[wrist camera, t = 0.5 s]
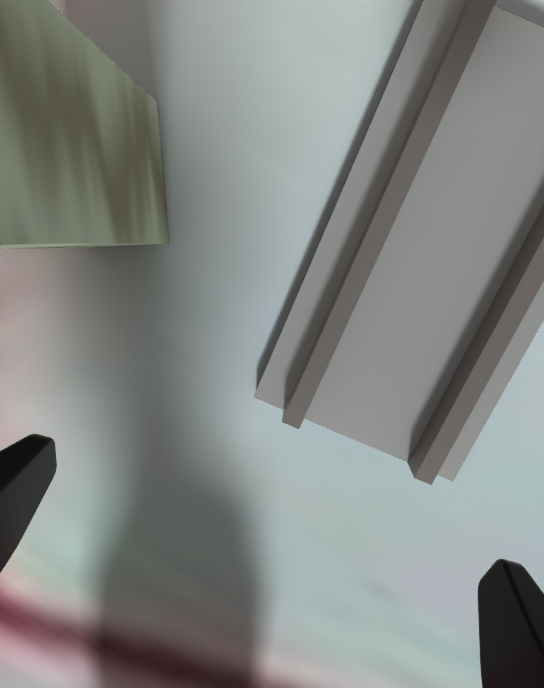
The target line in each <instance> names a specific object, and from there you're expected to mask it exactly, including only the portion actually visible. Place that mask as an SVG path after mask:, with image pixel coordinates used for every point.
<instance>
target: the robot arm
mask: <svg viewBox="0 0 544 688" xmlns="http://www.w3.org/2000/svg"><path fill="white" fill-rule="evenodd" d="M56 467H57V463H56V451H55V442H54V440H53V439H52V438H50V437H46V436H42V435H39V434H31V435H29V436H27V437H25V438H23V439H21V440H20V441H18V442H16V443H14V444H12V445H10V446H9V447H7V448H5V449H3V450H1V451H0V573H1V571H2V570H3V568H4V566H5V565H6V563H7V562H8V560H9V559H10V557H11V556H12V554H13V552H14V551H15V549H16V548H17V546H18V544H19V542H20V540H21V539H22V537H23V535H24V533H25V531H26V529H27V527H28V525H29V523H30V521H31V520H32V518H33V516H34V514H35V512H36V510H37V508H38V506H39V504H40V502H41V500H42V498H43V496H44V495H45V493H46V491H47V489H48V487H49V485H50V483H51V481H52V479H53V477H54V475H55V472H56ZM478 614H479V641H480V665H481V678H482V686H483V688H544V593H543V592H542V591H541V589H540V588H539V587H538V585H537V584H536V582H535V581H534V580H533V578H532V577H531V576H530V574H529V573H528V572H527V570H526V569H525V568H524V567H523V566H522V565H521V564H519V563H516V562H512V561H509V560H505V559H499V560H497V561H496V562H495V563H494V564H493V565H492V566H491V568H490V569H489V570H488V571H487V572H486V574H485V575H484V576H483V577H482V578H481V580H480V582H479V585H478Z"/></svg>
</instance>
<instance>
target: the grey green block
mask: <svg viewBox="0 0 544 688" xmlns="http://www.w3.org/2000/svg"><path fill="white" fill-rule="evenodd" d="M149 244H169V236H168V224H167V212H166V201H165V189H164V177H163V166H162V154H161V142H160V130H159V119H158V107H157V101H156V100H155V99H154V98H153V97H152V96H151V95H149V94H148V93H147V92H146V91H145V90H144V89H143V88H142V87H141V86H140V85H139V84H138V83H136V82H135V81H134V80H133V79H132V78H131V77H130V76H129V75H128V74H127V73H126V72H125V71H123V70H122V69H121V68H120V67H119V66H118V65H117V64H116V63H115V62H114V61H113V60H112V59H110V58H109V57H108V56H107V55H106V54H105V53H104V52H103V51H102V50H101V49H100V48H99V47H97V46H96V45H95V44H94V43H93V42H92V41H91V40H90V39H89V38H88V37H87V36H86V35H85V34H83V33H82V32H81V31H80V30H79V29H78V28H77V27H76V26H75V25H74V24H73V23H72V22H70V21H69V20H68V19H67V18H66V17H65V16H64V15H63V14H62V13H61V12H60V11H59V10H57V9H56V8H55V7H54V6H53V5H52V4H51V3H50V2H49V1H48V0H0V249H19V248H77V247H105V246H127V245H149Z"/></svg>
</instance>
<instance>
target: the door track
mask: <svg viewBox="0 0 544 688" xmlns="http://www.w3.org/2000/svg"><path fill="white" fill-rule="evenodd" d="M495 3H496V0H423V2H422V4H421V7H420V9H419V11H418V14H417V16H416V18H415V21H414V23H413V25H412V28H411V30H410V32H409V35H408V37H407V39H406V42H405V44H404V46H403V49H402V51H401V53H400V56H399V58H398V60H397V63H396V65H395V68H394V70H393V72H392V75H391V77H390V79H389V82H388V84H387V86H386V89H385V91H384V93H383V96H382V98H381V100H380V103H379V105H378V107H377V110H376V112H375V114H374V117H373V119H372V121H371V124H370V126H369V128H368V131H367V133H366V135H365V138H364V140H363V142H362V145H361V147H360V149H359V152H358V154H357V156H356V159H355V161H354V163H353V166H352V168H351V170H350V173H349V175H348V177H347V180H346V182H345V184H344V187H343V189H342V191H341V194H340V196H339V198H338V201H337V203H336V205H335V208H334V210H333V212H332V215H331V217H330V219H329V222H328V224H327V226H326V229H325V231H324V233H323V236H322V238H321V240H320V243H319V245H318V247H317V250H316V252H315V254H314V257H313V259H312V261H311V264H310V266H309V268H308V271H307V273H306V275H305V278H304V280H303V282H302V285H301V287H300V289H299V292H298V294H297V296H296V299H295V301H294V303H293V306H292V308H291V310H290V313H289V315H288V317H287V320H286V322H285V324H284V327H283V329H282V331H281V334H280V336H279V338H278V341H277V343H276V345H275V348H274V350H273V352H272V355H271V357H270V359H269V362H268V364H267V366H266V369H265V371H264V373H263V376H262V378H261V380H260V383H259V385H258V387H257V390H256V392H255V395H254V397H255V398H257V399H259V400H262V401H264V402H267V403H269V404H271V405H274V406H276V407H278V408H281V409H283V410H284V411H283V418H282V422H284V423H286V424H288V425H291V426H293V427H295V428H298V429H299V428H300V426H301V424H302V421H303V419H307V420H309V421H311V422H314V423H316V424H319V425H321V426H323V427H326V428H328V429H330V430H333V431H335V432H338V433H340V434H342V435H345V436H347V437H349V438H352V439H354V440H356V441H359V442H361V443H364V444H366V445H368V446H371V447H373V448H375V449H378V450H380V451H382V452H385V453H387V454H390V455H392V456H394V457H397V458H399V459H401V460H404V461H406V462H408V465H409V467H410V469H411V471H412V474H413V476H414V478H416V479H419V480H421V481H423V482H426V483H428V484H430V485H432V483H433V481H434V479H435V477H436V476H437V475H439V476H442V477H444V478H446V479H449V480H451V481H454V479H455V477H456V475H457V473H458V472H459V470H460V468H461V466H462V465H463V463H464V461H465V459H466V457H467V456H468V454H469V452H470V450H471V448H472V447H473V445H474V443H475V441H476V440H477V438H478V436H479V434H480V432H481V431H482V429H483V427H484V425H485V424H486V422H487V420H488V418H489V416H490V415H491V413H492V411H493V409H494V408H495V406H496V404H497V402H498V400H499V399H500V397H501V395H502V393H503V391H504V390H505V388H506V386H507V384H508V383H509V381H510V379H511V377H512V375H513V374H514V372H515V370H516V368H517V367H518V365H519V363H520V361H521V359H522V358H523V356H524V354H525V352H526V351H527V349H528V347H529V345H530V343H531V342H532V340H533V338H534V336H535V335H536V333H537V331H538V329H539V327H540V326H541V324H542V322H543V320H544V27H542V26H540V25H538V24H535V23H533V22H531V21H528V20H526V19H524V18H522V17H519V16H517V15H515V14H512V13H510V12H508V11H505V10H503V9H501V8H498V7H496V6H494V5H495Z"/></svg>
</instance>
